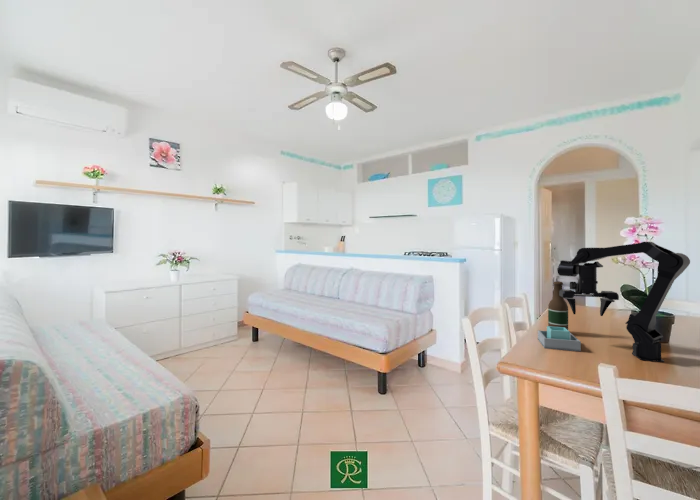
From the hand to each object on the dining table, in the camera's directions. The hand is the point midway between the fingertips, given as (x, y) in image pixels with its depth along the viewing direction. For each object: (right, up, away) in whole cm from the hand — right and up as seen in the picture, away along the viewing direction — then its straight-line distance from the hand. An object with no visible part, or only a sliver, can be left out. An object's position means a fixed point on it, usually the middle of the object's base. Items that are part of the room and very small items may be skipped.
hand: (587, 315), depth 124 cm
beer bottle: (-1, -12, +16) cm, 20 cm away
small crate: (-13, -11, -1) cm, 17 cm away
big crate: (-13, -12, -1) cm, 18 cm away
